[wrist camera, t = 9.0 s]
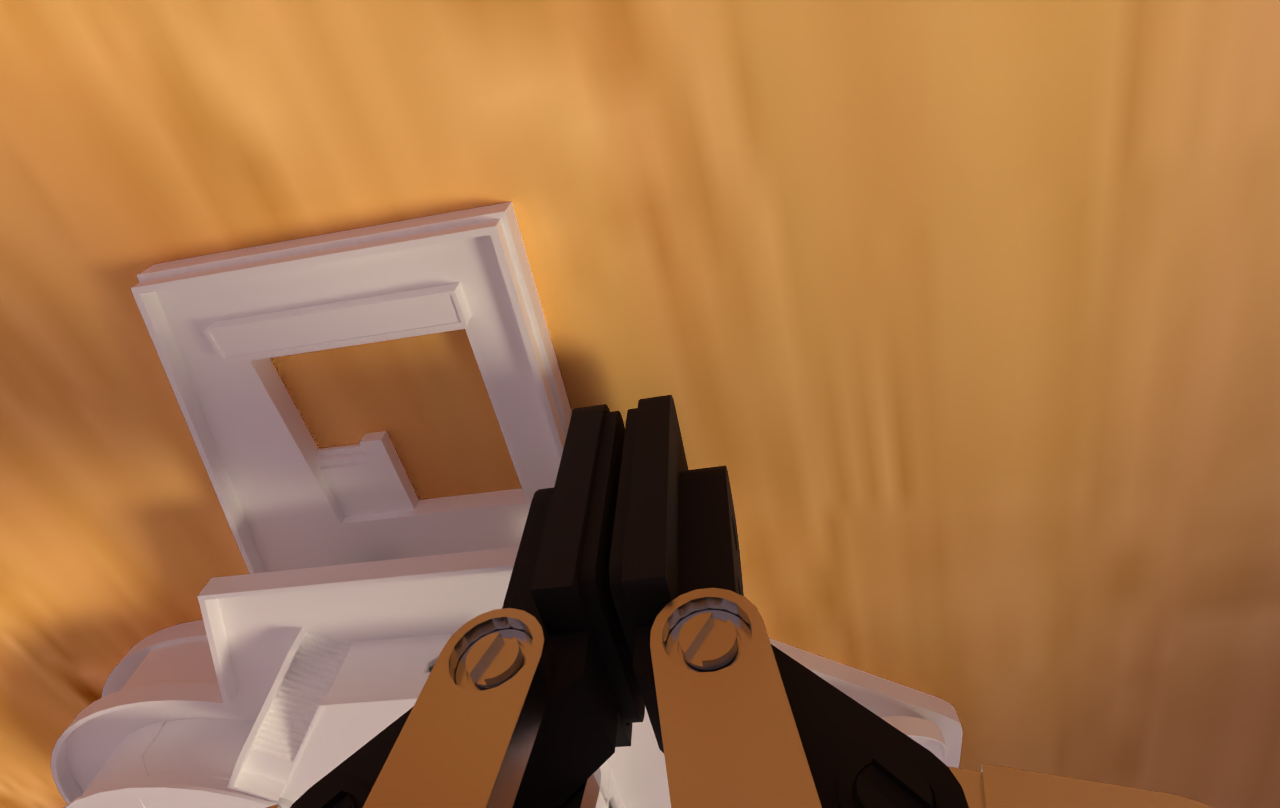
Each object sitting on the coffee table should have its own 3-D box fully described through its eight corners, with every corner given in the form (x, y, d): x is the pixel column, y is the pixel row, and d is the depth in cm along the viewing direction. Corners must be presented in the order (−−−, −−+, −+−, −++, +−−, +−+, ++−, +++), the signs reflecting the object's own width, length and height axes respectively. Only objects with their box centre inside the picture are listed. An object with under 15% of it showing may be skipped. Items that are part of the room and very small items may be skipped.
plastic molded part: (934, 858, 22) (986, 1043, 18) (231, 880, 25) (154, 1040, 22) (1004, 105, 10) (1200, 196, 6) (-347, 345, 13) (-743, 495, 10)
